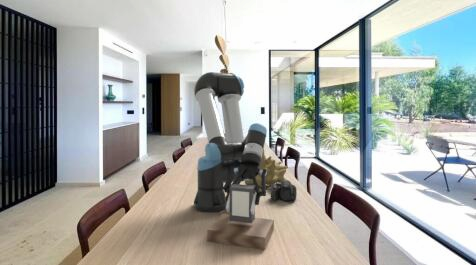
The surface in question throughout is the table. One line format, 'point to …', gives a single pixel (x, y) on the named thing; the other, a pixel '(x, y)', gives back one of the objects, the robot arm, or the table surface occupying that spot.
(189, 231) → the table surface
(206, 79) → the robot arm
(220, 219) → the display block
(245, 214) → the tall slate rectangular prism
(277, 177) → the decorative coral
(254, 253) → the table surface
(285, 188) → the camera
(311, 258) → the table surface
